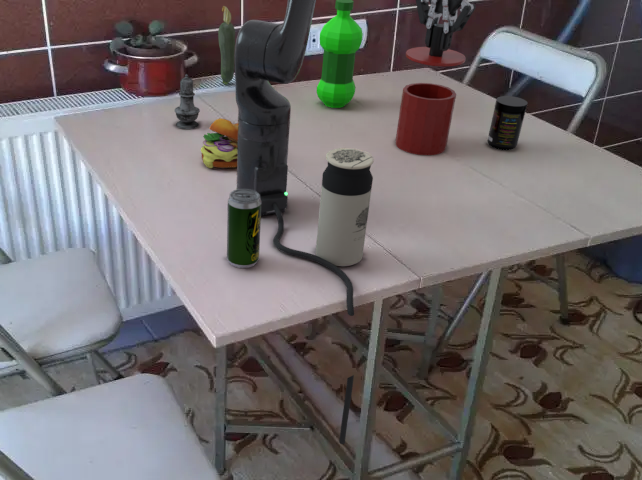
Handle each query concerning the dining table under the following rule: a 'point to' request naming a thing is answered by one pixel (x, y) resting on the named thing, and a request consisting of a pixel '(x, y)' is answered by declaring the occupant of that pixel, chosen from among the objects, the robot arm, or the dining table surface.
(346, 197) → the travel mug
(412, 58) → the lid
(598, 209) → the dining table surface
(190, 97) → the salt shaker
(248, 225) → the beer can
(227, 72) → the vegetable
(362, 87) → the dining table surface
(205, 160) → the cheeseburger
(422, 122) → the canister
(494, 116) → the supplement container
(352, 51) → the plastic bottle
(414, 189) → the dining table surface
